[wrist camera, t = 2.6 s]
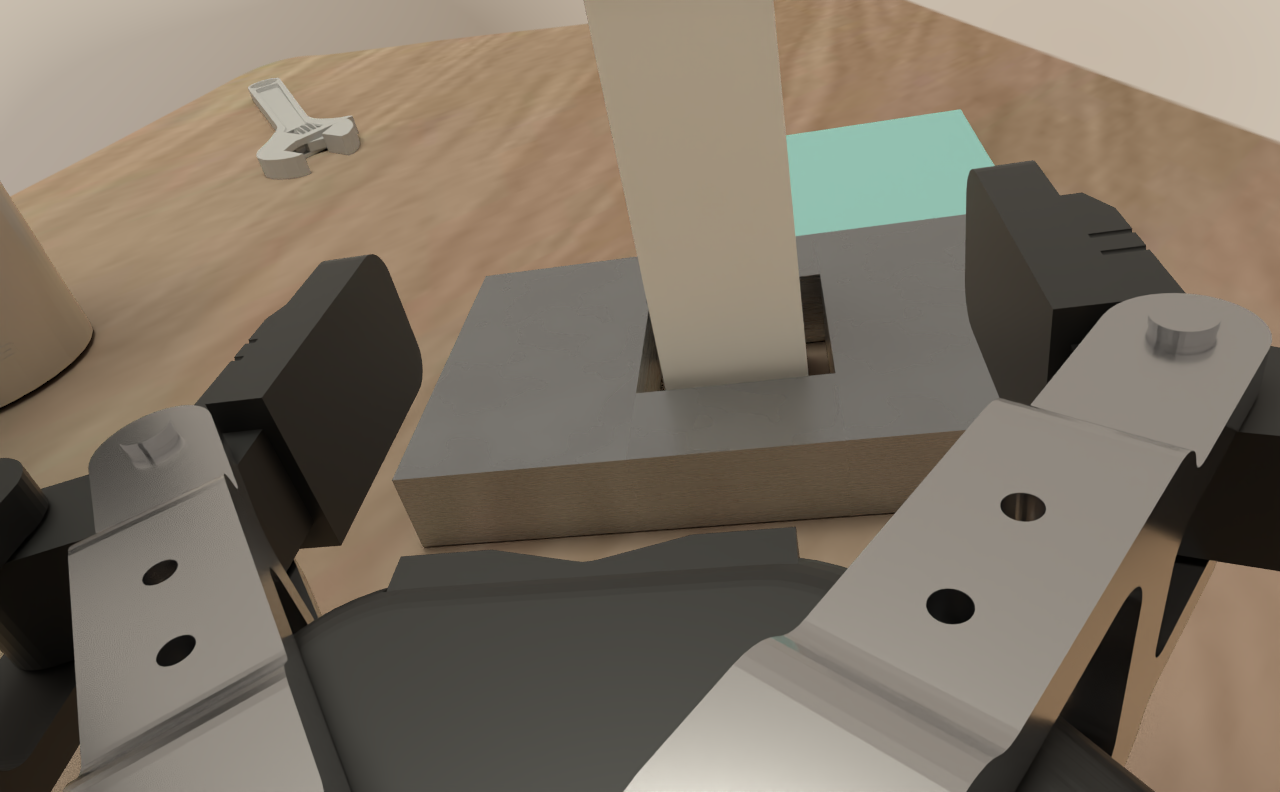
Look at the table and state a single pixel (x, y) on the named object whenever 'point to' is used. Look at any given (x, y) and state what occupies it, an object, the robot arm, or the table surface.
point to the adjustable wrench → (297, 132)
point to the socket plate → (696, 401)
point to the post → (705, 183)
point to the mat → (882, 172)
